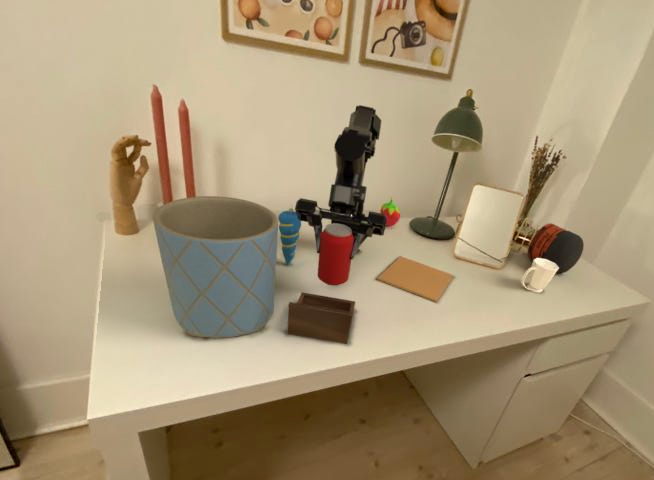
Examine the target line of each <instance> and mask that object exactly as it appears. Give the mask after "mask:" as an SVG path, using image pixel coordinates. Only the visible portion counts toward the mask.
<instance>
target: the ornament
mask: <svg viewBox="0 0 654 480" xmlns="http://www.w3.org/2000/svg"><path fill="white" fill-rule="evenodd" d="M277 219H278V223H279V224H278V231H279V233H280V238H279V239H280V242H281V252H282V256H283V258H284V262H285V264H286V265H287V266H289V265H290V264H291V263H292V261H293V259H294V258H295V255H296V249H297V246H298V240H299V238H300V230H301V228H302V221H300V220H298V217H297V214H296V211H295V210H294V208H293V207H292V206H290V207H289V208H288V210H284V211H282V212H280V213H279V215H278V217H277Z"/></svg>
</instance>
